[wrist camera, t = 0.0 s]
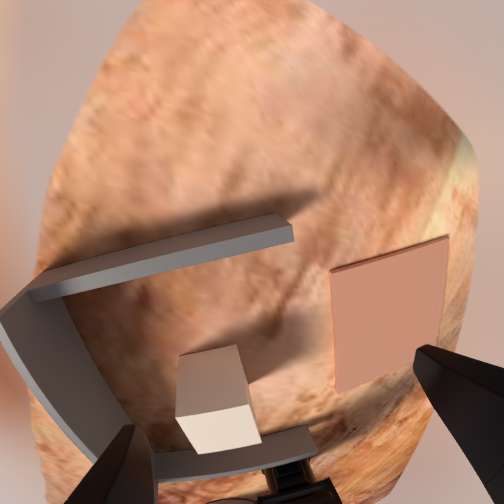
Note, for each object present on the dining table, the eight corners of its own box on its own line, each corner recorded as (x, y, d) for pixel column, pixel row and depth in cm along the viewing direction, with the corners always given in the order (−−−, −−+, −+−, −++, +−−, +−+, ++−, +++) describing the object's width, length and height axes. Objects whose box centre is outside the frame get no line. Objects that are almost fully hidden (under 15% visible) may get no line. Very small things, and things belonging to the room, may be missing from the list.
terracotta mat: (432, 348, 29) (434, 351, 28) (335, 390, 28) (337, 393, 27) (444, 236, 24) (448, 238, 24) (329, 271, 23) (332, 273, 22)
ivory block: (248, 384, 25) (261, 442, 19) (196, 395, 25) (198, 454, 18) (236, 343, 24) (248, 404, 17) (178, 356, 23) (175, 417, 17)
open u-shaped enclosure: (307, 428, 29) (329, 482, 22) (152, 457, 27) (149, 511, 20) (275, 212, 21) (316, 244, 13) (42, 272, 19) (-11, 320, 12)
